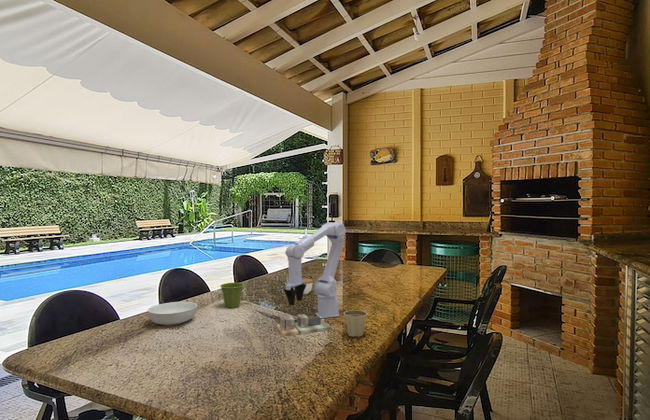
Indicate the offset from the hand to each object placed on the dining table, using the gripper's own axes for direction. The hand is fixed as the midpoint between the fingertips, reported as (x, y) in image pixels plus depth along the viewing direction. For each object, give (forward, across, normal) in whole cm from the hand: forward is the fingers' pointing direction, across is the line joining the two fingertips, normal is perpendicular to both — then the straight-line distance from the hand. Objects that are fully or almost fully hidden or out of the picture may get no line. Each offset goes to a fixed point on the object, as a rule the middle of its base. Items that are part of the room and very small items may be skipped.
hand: (295, 302), depth 166 cm
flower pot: (+10, +4, +29) cm, 31 cm away
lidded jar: (+10, -53, -21) cm, 58 cm away
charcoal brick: (+8, +3, +8) cm, 12 cm away
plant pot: (+9, -14, -43) cm, 46 cm away
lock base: (+9, +5, +6) cm, 12 cm away
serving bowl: (+9, +17, -53) cm, 57 cm away
